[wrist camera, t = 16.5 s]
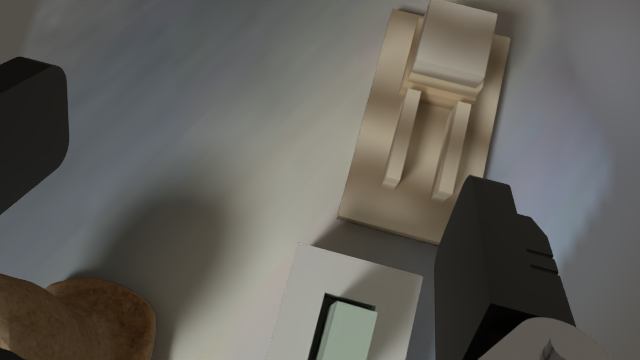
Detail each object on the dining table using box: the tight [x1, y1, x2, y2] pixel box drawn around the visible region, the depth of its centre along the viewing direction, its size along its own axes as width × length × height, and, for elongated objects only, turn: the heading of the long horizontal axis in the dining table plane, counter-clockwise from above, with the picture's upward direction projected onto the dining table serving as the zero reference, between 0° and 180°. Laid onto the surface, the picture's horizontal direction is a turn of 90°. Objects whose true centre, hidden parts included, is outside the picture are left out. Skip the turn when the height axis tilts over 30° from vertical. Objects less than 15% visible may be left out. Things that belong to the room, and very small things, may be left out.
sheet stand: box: [265, 242, 423, 360], centre depth 36 cm, size 12×8×8 cm, turn 165°
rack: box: [337, 9, 511, 246], centre depth 42 cm, size 18×10×4 cm, turn 165°
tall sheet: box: [314, 301, 378, 360], centre depth 33 cm, size 5×2×14 cm, turn 165°
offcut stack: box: [398, 0, 498, 110], centre depth 41 cm, size 6×6×6 cm
